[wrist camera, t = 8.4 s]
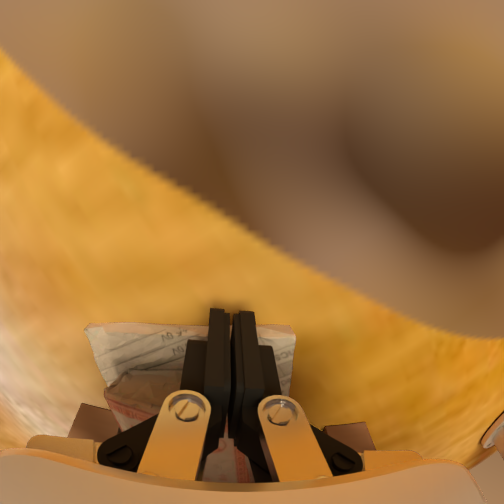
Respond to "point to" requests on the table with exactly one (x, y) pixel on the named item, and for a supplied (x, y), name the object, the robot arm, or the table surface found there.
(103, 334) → the packaged product
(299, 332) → the table surface
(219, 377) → the robot arm
